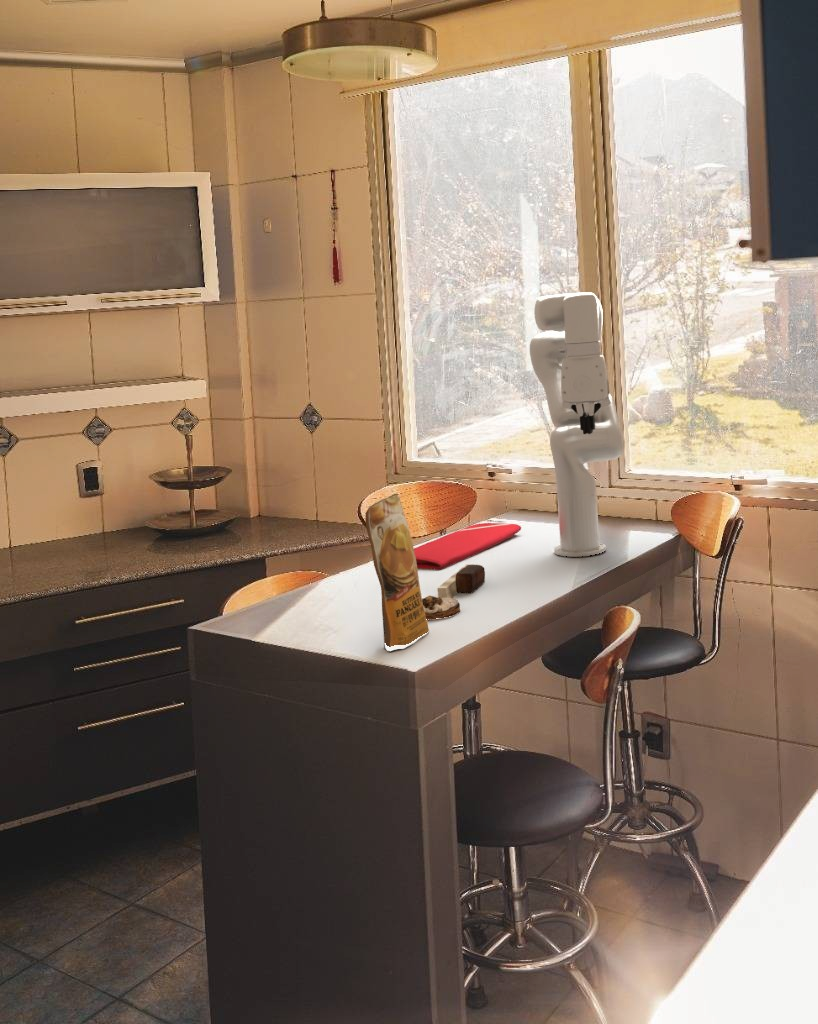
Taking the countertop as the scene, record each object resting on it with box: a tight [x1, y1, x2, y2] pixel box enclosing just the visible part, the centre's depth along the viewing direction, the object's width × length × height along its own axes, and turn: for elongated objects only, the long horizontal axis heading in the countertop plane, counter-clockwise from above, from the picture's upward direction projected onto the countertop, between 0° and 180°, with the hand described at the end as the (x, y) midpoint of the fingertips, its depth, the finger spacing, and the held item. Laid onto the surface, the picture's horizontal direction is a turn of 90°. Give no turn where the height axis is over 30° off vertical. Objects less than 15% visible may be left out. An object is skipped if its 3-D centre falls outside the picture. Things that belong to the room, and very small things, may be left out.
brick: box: [455, 564, 486, 594], centre depth 270 cm, size 11×4×5 cm, turn 161°
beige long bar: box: [437, 563, 475, 598], centre depth 270 cm, size 22×2×3 cm, turn 161°
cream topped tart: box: [422, 595, 461, 621], centre depth 252 cm, size 15×15×4 cm
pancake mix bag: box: [364, 492, 430, 647], centre depth 231 cm, size 7×19×28 cm, turn 155°
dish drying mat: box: [413, 522, 522, 571], centre depth 311 cm, size 16×41×4 cm, turn 146°
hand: (588, 433), depth 268 cm, fingers closed
